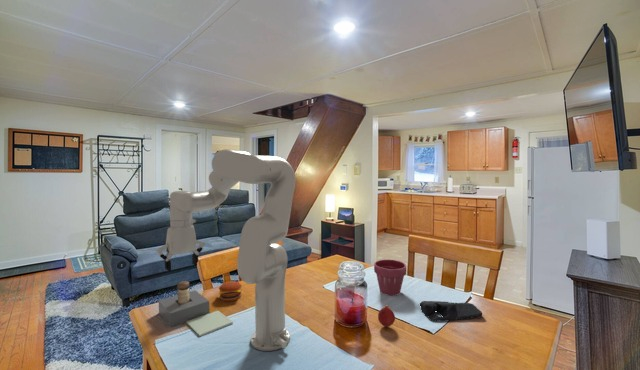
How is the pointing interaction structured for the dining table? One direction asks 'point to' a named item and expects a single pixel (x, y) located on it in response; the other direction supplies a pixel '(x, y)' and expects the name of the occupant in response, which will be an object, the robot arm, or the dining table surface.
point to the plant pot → (390, 275)
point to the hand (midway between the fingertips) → (182, 267)
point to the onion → (386, 316)
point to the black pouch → (449, 310)
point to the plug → (183, 292)
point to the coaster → (209, 323)
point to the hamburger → (230, 291)
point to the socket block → (183, 308)
